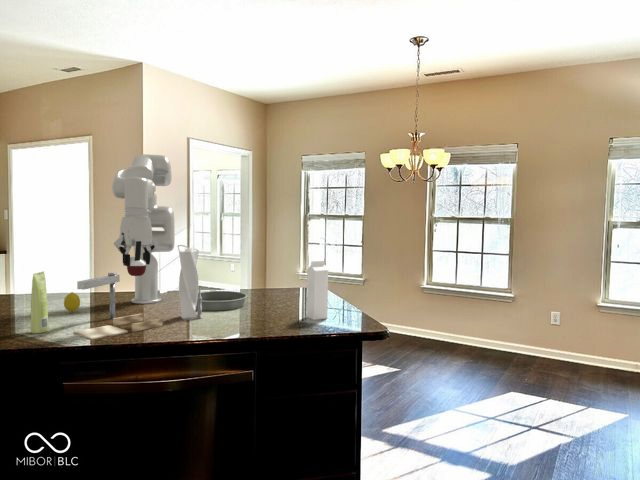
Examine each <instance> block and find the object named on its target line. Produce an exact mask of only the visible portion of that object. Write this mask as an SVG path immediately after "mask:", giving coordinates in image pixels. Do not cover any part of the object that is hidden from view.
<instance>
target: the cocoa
mask: <svg viewBox="0 0 640 480" xmlns="http://www.w3.org/2000/svg"><path fill="white" fill-rule="evenodd" d="M140 254H141V241H137V242H136V249H135V254H134V256H130V266H126V269H127V273H128V274H129V275H130V276H131V277H132V276H133V277H135V276H141V275H143V274H144V273H145V270H146V261H145V260H142V259H141V258H140Z"/></svg>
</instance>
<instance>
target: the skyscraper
mask: <svg viewBox="0 0 640 480" xmlns="http://www.w3.org/2000/svg"><path fill="white" fill-rule="evenodd" d="M180 247H184V248H185V249H184V250H180ZM177 249H178V250H177V251H178V254H179V262H180V271H179V272H180V273H179V277H178V280H179V281H178V295H179V296H178V297H179V304H180V311H181V312H180V316H179V317H180V319H182V320H183V321H189V320H198V319H200V320H201V319H203V312H202V310H203V309H202V304H201V299H202V297H201V292H202V290H201V285H199V274H198V269H197V263H198V257H199V253H200V252H199V249H197V248H190V247H189V246H187V245H185V244H178V245H177ZM198 293H199V297H198ZM197 299H198V308H196V305H197ZM196 310H197V313H196Z"/></svg>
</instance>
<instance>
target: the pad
mask: <svg viewBox="0 0 640 480" xmlns="http://www.w3.org/2000/svg"><path fill="white" fill-rule="evenodd" d="M72 333H73V334H74V335H77V336H80V337H83V338H86V339H89V340H91V341H92V340H97V339H102V338H107V337H112V336H117V335H123V334H128V333H129V330H127V329H123V328H119V327H117V326H113V325H111V324H109V325H103V326H96V327H92V328H88V329H87V328H86V329H80V330H75V331H73V332H72Z"/></svg>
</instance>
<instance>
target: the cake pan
mask: <svg viewBox="0 0 640 480" xmlns="http://www.w3.org/2000/svg"><path fill="white" fill-rule="evenodd" d="M198 297H199V292H198ZM201 297H202V299H201V304H202V310H204V311H205V310H206V311H226V310H234V309H239V308H242V307H244V305H245V300H246V299H247V297H248V294H247V293H245V292H241V291H234V290H233V291H232V290H211V291H201ZM196 309H198V299H197V305H196Z"/></svg>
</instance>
